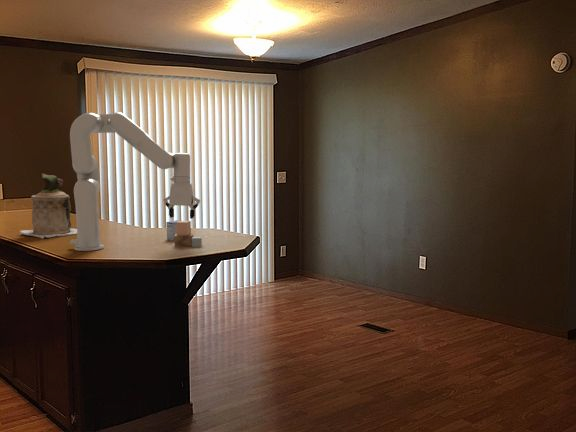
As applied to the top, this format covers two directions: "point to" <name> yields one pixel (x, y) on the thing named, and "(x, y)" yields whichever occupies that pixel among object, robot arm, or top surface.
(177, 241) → the walnut block
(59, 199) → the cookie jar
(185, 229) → the terracotta block
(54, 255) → the top surface
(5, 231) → the top surface
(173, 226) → the medicine box
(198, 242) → the slate block
